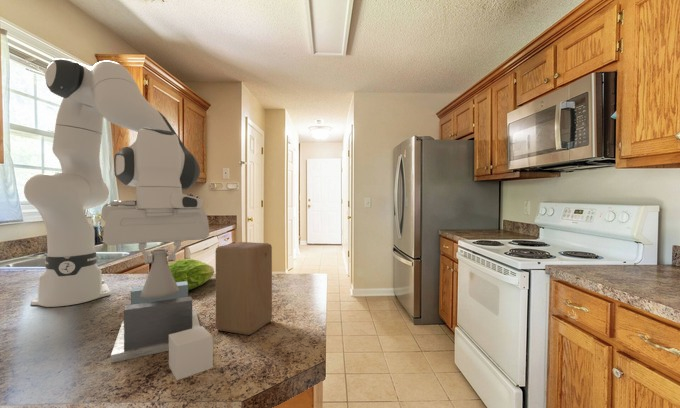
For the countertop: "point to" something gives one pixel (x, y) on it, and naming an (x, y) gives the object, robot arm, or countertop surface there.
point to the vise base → (152, 327)
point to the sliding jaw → (138, 300)
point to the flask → (159, 277)
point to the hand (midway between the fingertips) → (160, 262)
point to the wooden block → (243, 287)
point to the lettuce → (191, 272)
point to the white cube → (190, 352)
